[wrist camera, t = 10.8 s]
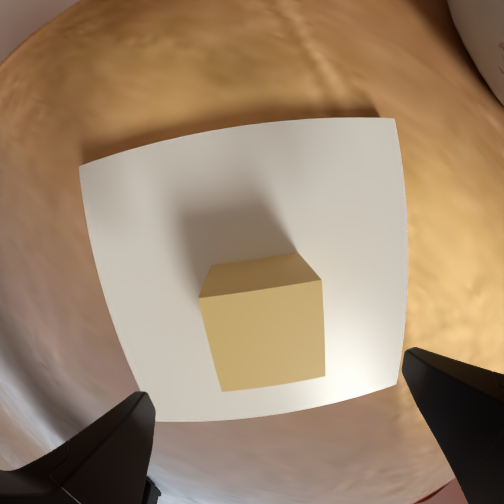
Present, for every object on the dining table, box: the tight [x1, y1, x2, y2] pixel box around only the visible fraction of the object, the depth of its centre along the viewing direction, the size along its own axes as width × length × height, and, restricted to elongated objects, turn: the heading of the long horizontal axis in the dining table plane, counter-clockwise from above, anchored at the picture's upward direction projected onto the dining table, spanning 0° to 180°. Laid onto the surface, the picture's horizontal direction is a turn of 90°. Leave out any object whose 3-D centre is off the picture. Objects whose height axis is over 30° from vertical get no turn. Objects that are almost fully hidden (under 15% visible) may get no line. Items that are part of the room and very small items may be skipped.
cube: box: [198, 253, 325, 392], centre depth 14 cm, size 5×5×5 cm
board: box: [79, 118, 408, 422], centre depth 17 cm, size 20×20×2 cm
